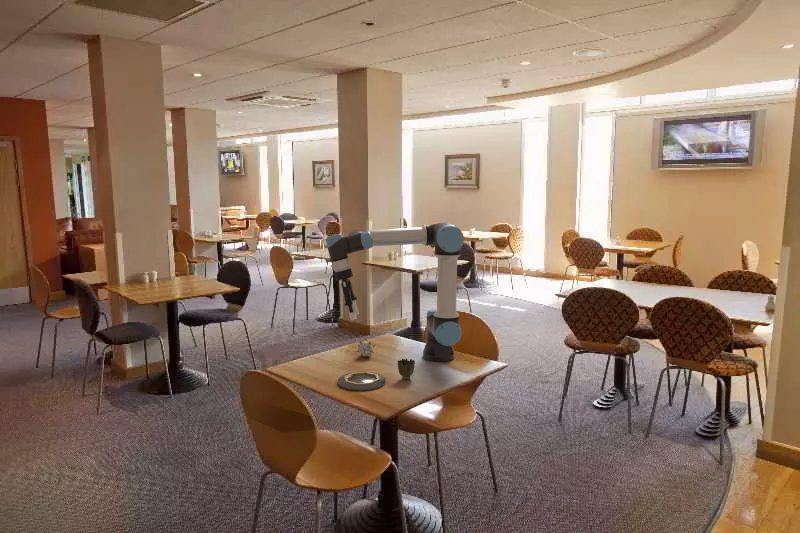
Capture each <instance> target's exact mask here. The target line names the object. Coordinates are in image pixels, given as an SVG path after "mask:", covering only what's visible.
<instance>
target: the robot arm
mask: <svg viewBox="0 0 800 533" xmlns="http://www.w3.org/2000/svg"><path fill="white" fill-rule="evenodd" d="M464 238H465V237H464V233H463V231H462V230H461V229H460V227H458V226H457V225H455V224H452V223H448V222H437V223H432V224H431V223H430V224H423V225H422V226H421V227H419V226H418V227H404V228H403V227H402V228H384V229H368V230H366V229H365V230H359V229H355V230H354V229H353V230H351V231H350V232H349V233H348V235H347V236H343V234H342V233H341V232H340V233H337V234H332V235H329V236H327V237H326V238H325V243H326V248H327V251H328V255H329V258H330V261H331V264H330V267H331V268H332V269H333V272H334V274H333V275H334V278H335V281H341V283H340V285H341V288H342V293H343V296H344V302H345V303H344V307H346V308H347V312H348V315H349V316H348V317H349V319H350V320H349V321H354V320H357V319H358V317H357V316H358V315H360V312H359V308H358V305H357V301H356V300H358V299H357V296H356V295H355V293H354V291H353V290H354V289H353V286H352V282H351V278H352V277H353V276H354V274H353V271H352V268H351V263H350V259H349V256H348V255H349V254H353V253H357V252H362V251H367V250H368V249H372V248H373V247H384V246H386V247H387V246H388V247H389V246H403V245H404V246H405V245H406V246H407V245H423V246H425V247H426V246H428V247H429V246H432V247H434V256H436V259H437V288H436V293H437V294H436V309H430V310H427V312H426V316H425V317H426V342H425V346H424V347H423V351H422V358H423V359H425V360H426V361H430V362H449V361H453V360H454V359H455V356H456V354H455V351H454V345H456V344H457V343H459V341H460V340H461V338H462V334H463V332H462V328H461V326H460V314H459V312H458V311H457V285H458V284H457V283H458V277H457V276H458V258H459V257H460V256H461V255H462V247H463V245H464V243H465V242H464V241H465V239H464Z"/></svg>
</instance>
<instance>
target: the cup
mask: <svg viewBox="0 0 800 533" xmlns="http://www.w3.org/2000/svg"><path fill="white" fill-rule="evenodd" d="M415 364H416V361H415V360H414V359H412V358H410V359H409V360H408V358H402V359H399V360H397V369H398V373H399V375H400V376H401V378H402V380H403V381H409V380H410V379H411V376H412V375H413V374H414V372H415Z"/></svg>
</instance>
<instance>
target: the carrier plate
mask: <svg viewBox="0 0 800 533" xmlns="http://www.w3.org/2000/svg"><path fill="white" fill-rule="evenodd" d="M386 380H387V378H386V377H385V375H383V374H380V373H378V372H372V371H355V372H349V373H348V372H347V373H346V374H343V375H341V376H340V377H339V378H337V384H338V387H340V388H342V389H345V390H348V391H352V392H353V391H354V392H355V391H356V392H367V391H373V390H378V389H380V388H383V387H384V386H385V385H386V383H387V381H386Z"/></svg>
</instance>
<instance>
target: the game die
mask: <svg viewBox="0 0 800 533" xmlns="http://www.w3.org/2000/svg"><path fill="white" fill-rule="evenodd" d="M357 346H358V349H357V350H356V353H358V354H359V353H360V356H363V357H364V359H366V357H368V356H371V357H372V353H374V347H375V346H376V345H373V344H372V342H371V341H368V339H367V338H366V339H365V340H364V341H362V342H361V341H359V345H358V344H357Z"/></svg>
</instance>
